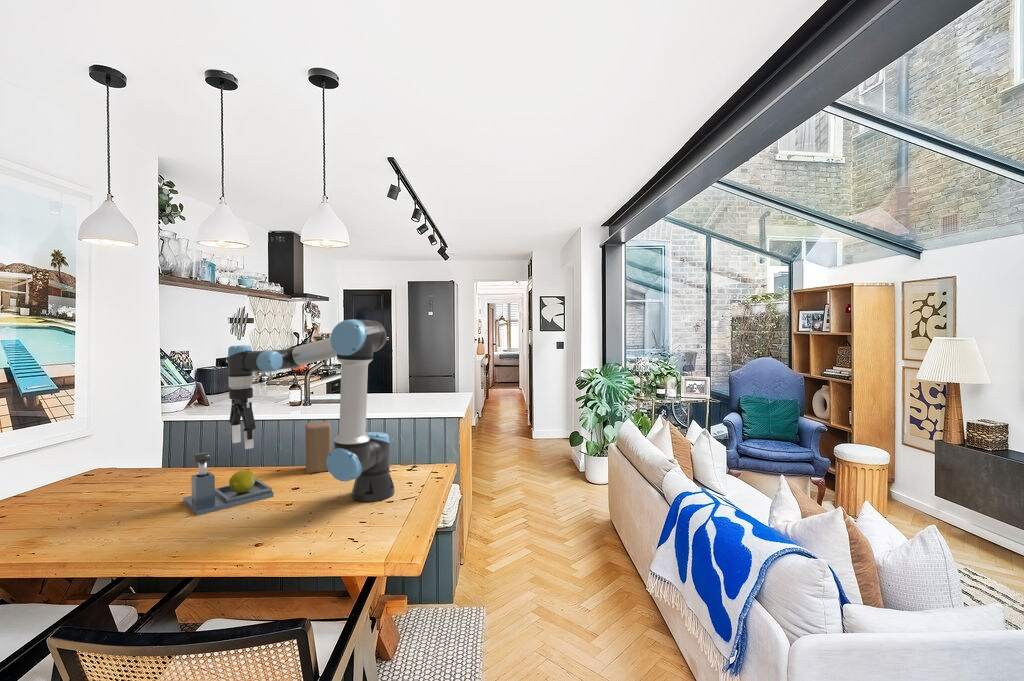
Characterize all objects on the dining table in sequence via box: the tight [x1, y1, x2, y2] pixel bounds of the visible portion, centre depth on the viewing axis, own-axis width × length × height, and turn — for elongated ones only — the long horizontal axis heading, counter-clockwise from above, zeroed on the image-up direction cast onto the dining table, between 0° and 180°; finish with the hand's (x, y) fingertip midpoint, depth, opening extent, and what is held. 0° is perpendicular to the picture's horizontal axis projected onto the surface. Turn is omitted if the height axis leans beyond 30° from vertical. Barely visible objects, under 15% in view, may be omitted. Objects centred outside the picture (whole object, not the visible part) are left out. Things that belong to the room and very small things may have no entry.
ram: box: [193, 451, 212, 477], centre depth 165 cm, size 5×5×10 cm
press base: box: [182, 471, 275, 516], centre depth 171 cm, size 18×24×10 cm
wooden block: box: [304, 421, 332, 474], centre depth 206 cm, size 10×10×20 cm
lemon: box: [228, 469, 256, 493], centre depth 174 cm, size 11×8×8 cm
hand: (242, 445), depth 173 cm, fingers open, 13 cm apart
